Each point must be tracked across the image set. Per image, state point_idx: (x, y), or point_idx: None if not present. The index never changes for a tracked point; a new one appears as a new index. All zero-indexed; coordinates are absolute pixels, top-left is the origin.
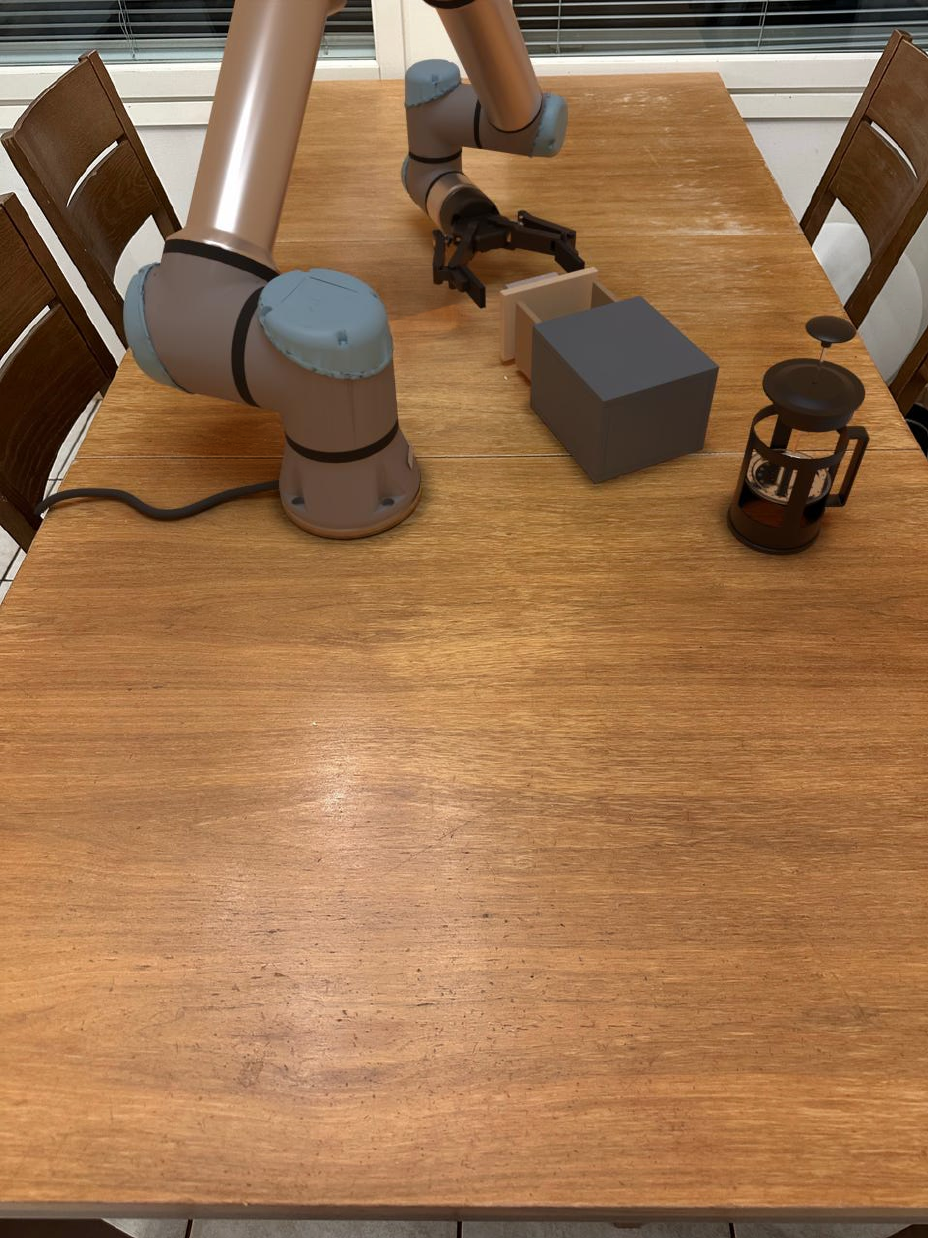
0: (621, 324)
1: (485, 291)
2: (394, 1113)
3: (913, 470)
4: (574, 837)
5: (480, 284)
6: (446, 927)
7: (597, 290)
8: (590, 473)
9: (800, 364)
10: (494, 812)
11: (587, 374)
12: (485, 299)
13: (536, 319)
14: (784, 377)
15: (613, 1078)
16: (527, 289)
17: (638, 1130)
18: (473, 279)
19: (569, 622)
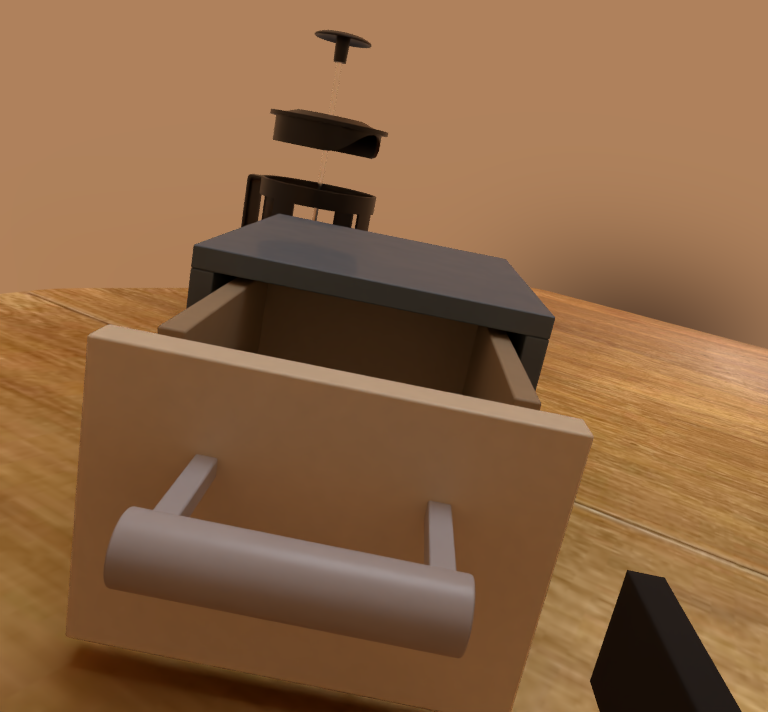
0: (339, 255)
1: (621, 593)
2: (758, 352)
3: (69, 289)
4: (637, 346)
5: (655, 601)
6: (731, 361)
7: (198, 338)
8: None
9: (311, 115)
10: (693, 366)
11: (502, 268)
12: (606, 637)
13: (508, 355)
14: (352, 120)
15: (644, 324)
16: (468, 397)
17: (637, 318)
18: (700, 657)
19: (589, 383)
